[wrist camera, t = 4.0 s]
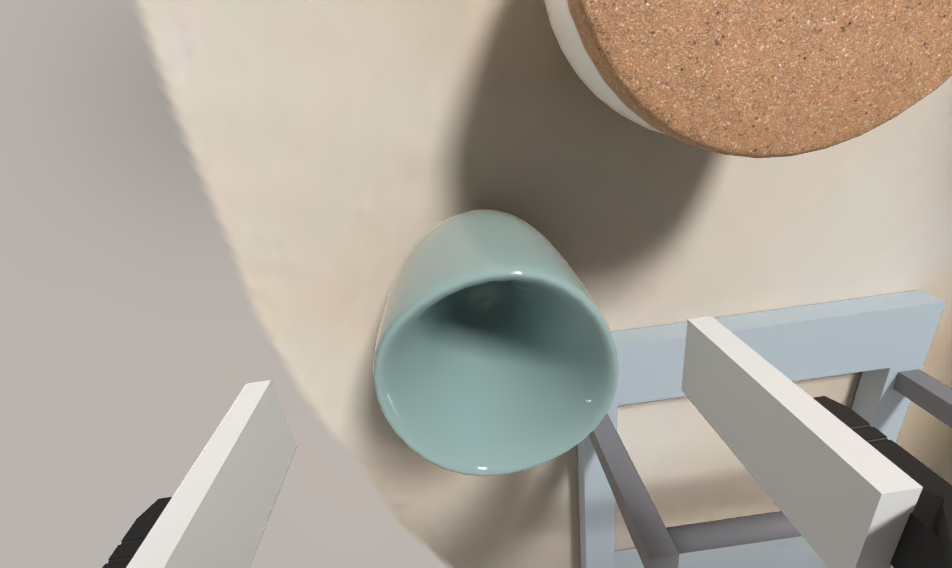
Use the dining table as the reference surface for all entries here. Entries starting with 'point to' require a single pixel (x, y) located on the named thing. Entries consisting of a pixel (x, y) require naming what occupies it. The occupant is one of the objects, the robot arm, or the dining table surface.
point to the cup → (491, 348)
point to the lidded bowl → (757, 66)
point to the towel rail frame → (797, 357)
